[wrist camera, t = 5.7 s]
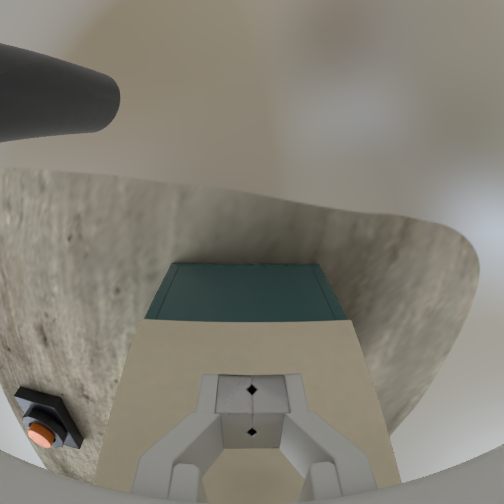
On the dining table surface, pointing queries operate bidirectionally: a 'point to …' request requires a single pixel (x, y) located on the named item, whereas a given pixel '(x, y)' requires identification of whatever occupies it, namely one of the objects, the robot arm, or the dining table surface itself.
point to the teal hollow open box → (245, 294)
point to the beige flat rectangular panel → (242, 363)
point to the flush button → (40, 435)
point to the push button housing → (49, 416)
